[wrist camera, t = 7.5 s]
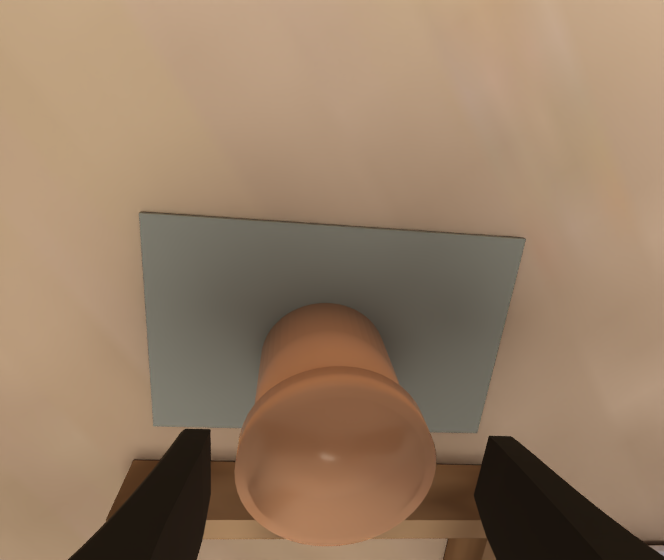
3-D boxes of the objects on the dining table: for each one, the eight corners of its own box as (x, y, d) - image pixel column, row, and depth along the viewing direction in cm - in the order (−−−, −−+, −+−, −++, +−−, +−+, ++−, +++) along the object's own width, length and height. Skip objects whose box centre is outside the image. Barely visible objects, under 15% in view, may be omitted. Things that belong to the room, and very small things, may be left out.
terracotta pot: (401, 300, 17) (454, 390, 12) (382, 419, 19) (418, 545, 14) (256, 291, 17) (236, 383, 11) (250, 415, 19) (232, 546, 13)
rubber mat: (523, 237, 17) (525, 239, 17) (475, 430, 20) (477, 433, 20) (140, 211, 15) (139, 213, 15) (154, 422, 19) (153, 426, 18)
